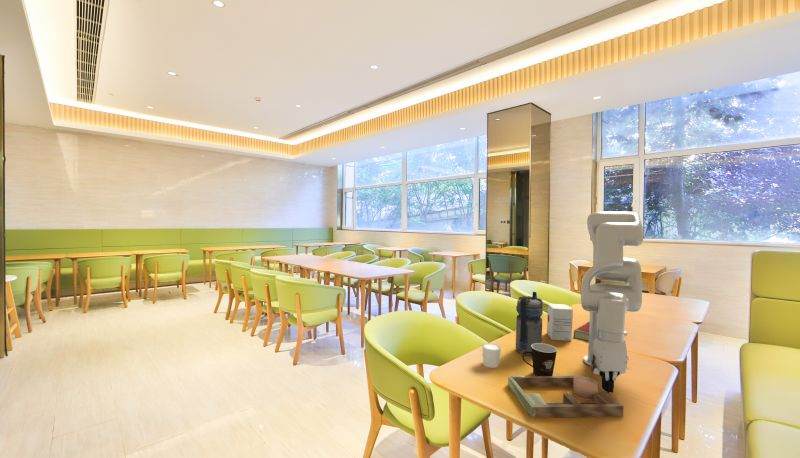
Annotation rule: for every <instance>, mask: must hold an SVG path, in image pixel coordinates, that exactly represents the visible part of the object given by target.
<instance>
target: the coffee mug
mask: <svg viewBox="0 0 800 458" xmlns="http://www.w3.org/2000/svg"><path fill="white" fill-rule="evenodd" d="M531 350H532V352H529V351H526V352H524V353H523V354H522V356H521V359H522V360H523V361H524V363H526V365H528V366H530V367H531V368H532V371H533V376H554V370H555V364H556V357H557V353H558V350H557V348H556V347H555V346H554V345H552V344H547V343H535V344H532V345H531ZM526 353H530V354H531V355H532V356H531V359H532V364H531V363H530V362H528V361H526V359H525V356H526V355H525V354H526Z"/></svg>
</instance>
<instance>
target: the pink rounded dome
mask: <svg viewBox="0 0 800 458" xmlns="http://www.w3.org/2000/svg"><path fill="white" fill-rule="evenodd" d="M574 376H575V377H574V380H573V386H572V393H573V394H574V395H575V397H578V398H580V399H582V400H586V401H595V393H599V392H598V389H599V382H598V381H597V380H595V379H594V378H592V377H589V376H587V375H574ZM586 376H587V377H586Z"/></svg>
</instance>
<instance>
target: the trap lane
mask: <svg viewBox="0 0 800 458" xmlns="http://www.w3.org/2000/svg"><path fill="white" fill-rule="evenodd" d="M575 376H576V375H553V376H535V375H532V376H531V375H529V376H527V375H522V374H521V375H518V374H517V375H511V376H509V375H508V376H507V386H508V388H510V390H511V392H512V393H513V394H514V395H515V397H516V399H517V400H518V401H519V403H520V404H521V405H522V406H523V408H524V410H525V411H526V412H527V414H529V416H530V418H578V417H579V418H584V417H585V418H588V417H589V418H591V417H598V418H599V417H600V418H601V417H604V418H605V417H624V407H625V406H624V405H623V404H622V403H620V402H619V401H618V400H617V399H615V398H614V397H613V396H612V395H610V393H607V392H601V393H600V392H598V393H595V400H593V401H594V402H590V401H589V402H583V401H582V402H579V401H578V400H577V399H576V398H575V397H574V396H573V395H572V393H567V392H566V393H563V395H562V397H563V398H562V402H546V401H545V400H544V399H543V397H542V396H541V395H540V394H539V393H525V392H524V390H523V388H525V387H526V388H527V387H531V388H532V387H548V388H549V387H573V380H574V377H575ZM585 376H586V377H588V376H587V375H585Z"/></svg>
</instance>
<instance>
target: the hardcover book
mask: <svg viewBox="0 0 800 458" xmlns="http://www.w3.org/2000/svg"><path fill="white" fill-rule="evenodd" d="M573 338H578V339H582V340H584V341H585V340H586V341H589V321H587V322H586V323H584V324H582V325H581V326H579V327H577V328H576V329H574V331H573Z"/></svg>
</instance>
